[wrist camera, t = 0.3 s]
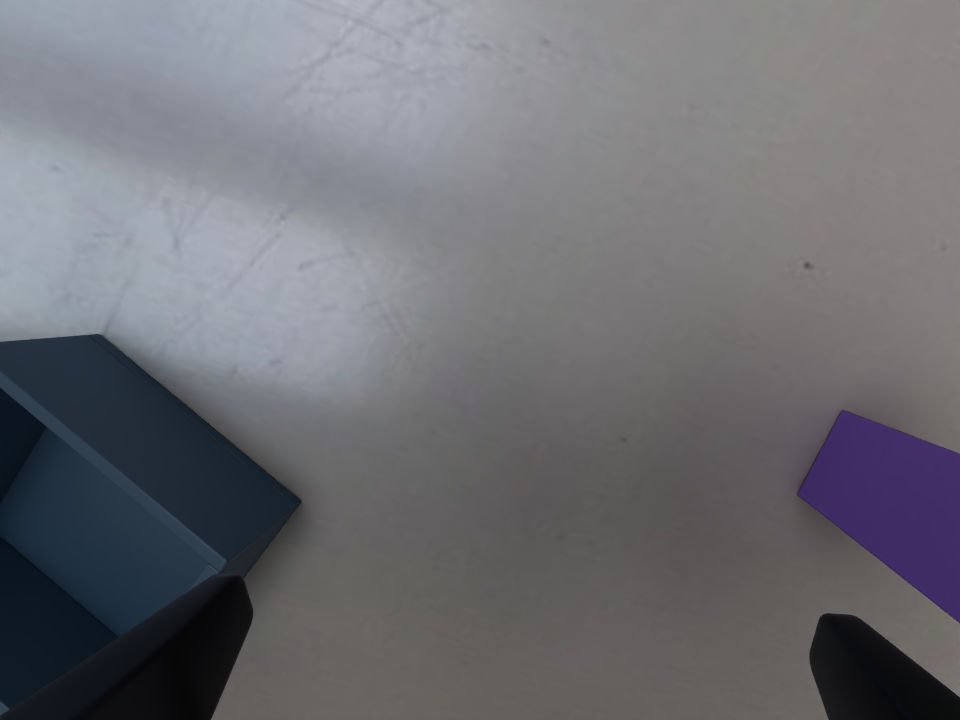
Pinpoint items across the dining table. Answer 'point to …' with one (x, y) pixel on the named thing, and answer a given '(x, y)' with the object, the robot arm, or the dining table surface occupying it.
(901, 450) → the purple white-banded prism
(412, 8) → the dining table surface
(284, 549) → the dining table surface
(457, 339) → the dining table surface
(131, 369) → the open blue box
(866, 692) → the robot arm
